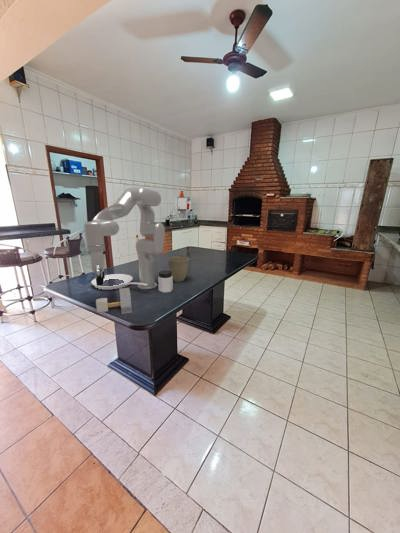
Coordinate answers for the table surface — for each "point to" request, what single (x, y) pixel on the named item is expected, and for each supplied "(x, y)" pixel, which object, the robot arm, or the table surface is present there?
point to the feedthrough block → (125, 300)
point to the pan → (124, 277)
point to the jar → (165, 281)
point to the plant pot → (178, 267)
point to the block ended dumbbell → (105, 305)
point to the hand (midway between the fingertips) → (100, 281)
